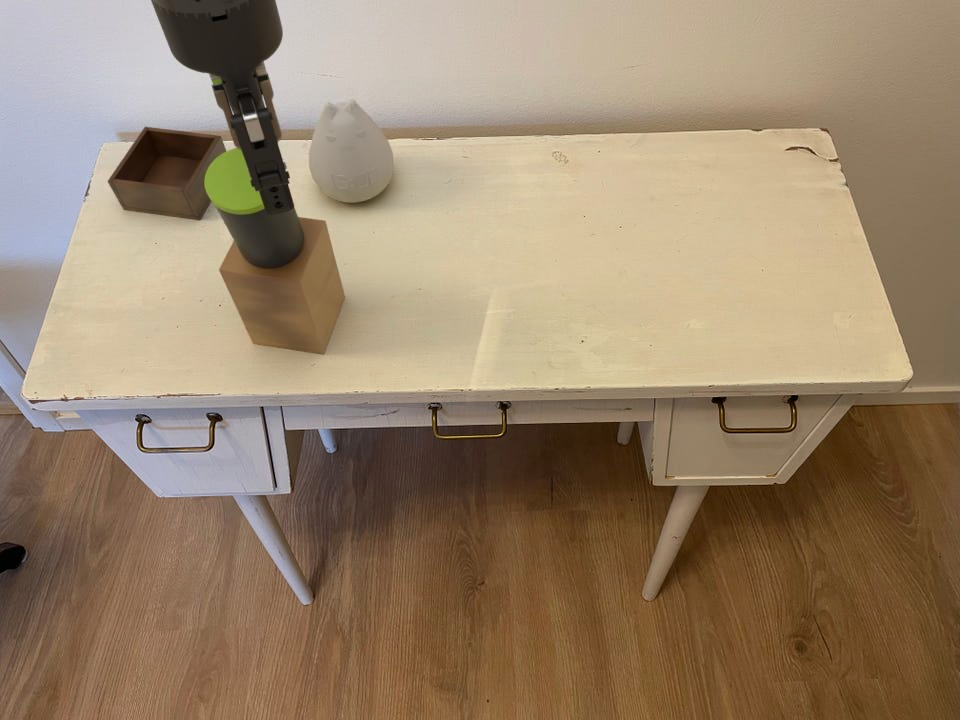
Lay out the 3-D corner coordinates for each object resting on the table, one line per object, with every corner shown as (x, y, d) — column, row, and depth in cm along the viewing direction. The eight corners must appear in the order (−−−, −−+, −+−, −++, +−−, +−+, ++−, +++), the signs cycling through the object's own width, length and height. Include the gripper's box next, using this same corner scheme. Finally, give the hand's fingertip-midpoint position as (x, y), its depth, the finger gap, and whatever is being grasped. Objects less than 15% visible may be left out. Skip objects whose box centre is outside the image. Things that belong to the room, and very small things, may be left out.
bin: (123, 209, 90) (106, 181, 86) (158, 155, 95) (144, 126, 91) (200, 220, 88) (187, 191, 85) (231, 164, 94) (221, 135, 90)
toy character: (318, 218, 88) (296, 139, 79) (311, 161, 94) (291, 80, 84) (402, 206, 90) (391, 125, 80) (390, 150, 95) (379, 69, 85)
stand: (252, 343, 78) (218, 269, 68) (277, 287, 82) (249, 210, 73) (323, 354, 77) (299, 281, 67) (345, 296, 82) (325, 220, 72)
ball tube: (228, 263, 68) (193, 202, 59) (249, 207, 71) (218, 140, 62) (294, 275, 68) (269, 216, 59) (313, 218, 70) (291, 153, 61)
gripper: (135, -68, 49) (211, 131, 62) (157, 50, 41) (238, 247, 54) (247, -87, 50) (297, 112, 63) (289, 24, 42) (336, 222, 56)
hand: (270, 174), depth 59 cm, fingers open, 8 cm apart
